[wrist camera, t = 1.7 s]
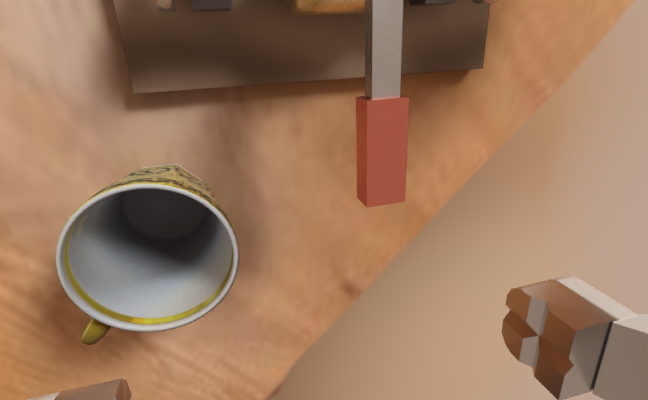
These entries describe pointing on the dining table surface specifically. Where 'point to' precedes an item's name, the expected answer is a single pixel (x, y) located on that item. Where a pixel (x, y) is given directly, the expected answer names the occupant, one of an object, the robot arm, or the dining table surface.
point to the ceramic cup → (147, 253)
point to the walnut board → (284, 43)
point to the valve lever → (382, 109)
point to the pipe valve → (302, 6)
